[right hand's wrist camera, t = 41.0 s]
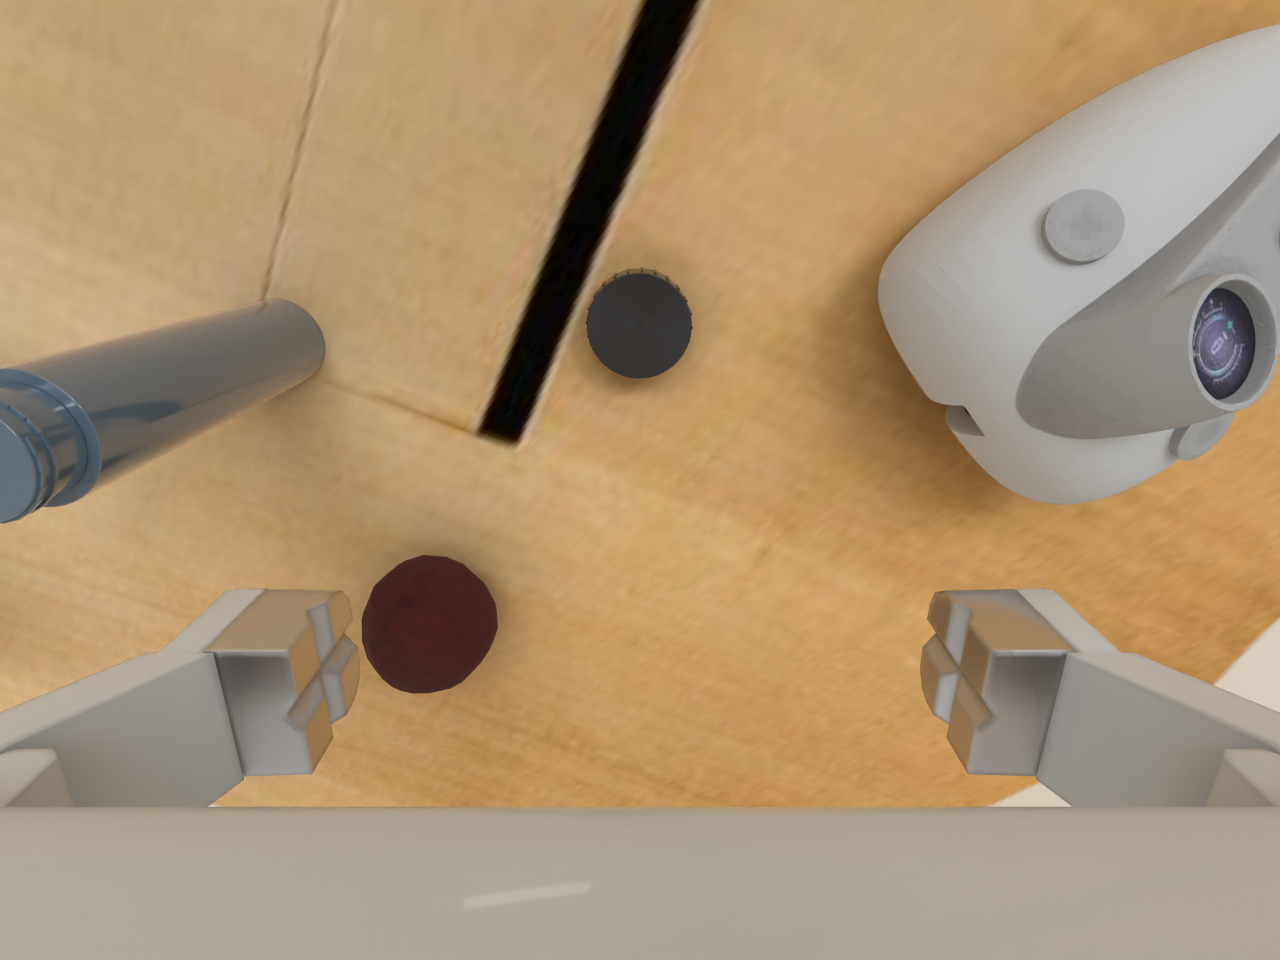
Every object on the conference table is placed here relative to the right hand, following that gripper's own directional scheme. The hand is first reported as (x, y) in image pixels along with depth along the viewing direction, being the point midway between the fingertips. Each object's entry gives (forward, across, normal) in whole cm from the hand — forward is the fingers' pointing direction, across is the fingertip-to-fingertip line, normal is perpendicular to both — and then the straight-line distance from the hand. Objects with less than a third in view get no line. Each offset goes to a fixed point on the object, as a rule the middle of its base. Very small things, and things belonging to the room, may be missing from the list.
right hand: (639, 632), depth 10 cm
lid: (+28, 0, 0) cm, 29 cm away
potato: (+31, +12, +17) cm, 37 cm away
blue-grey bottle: (+31, +20, +1) cm, 36 cm away
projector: (+31, -24, -4) cm, 39 cm away
